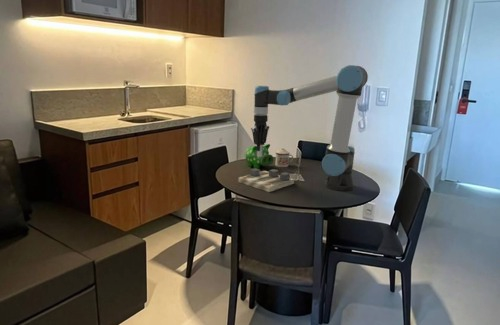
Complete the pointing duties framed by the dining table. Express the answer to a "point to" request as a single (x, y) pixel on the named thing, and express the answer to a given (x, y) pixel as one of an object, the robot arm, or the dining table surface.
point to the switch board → (265, 181)
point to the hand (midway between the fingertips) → (259, 156)
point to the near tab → (284, 176)
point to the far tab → (255, 172)
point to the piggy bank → (258, 161)
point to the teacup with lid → (282, 158)
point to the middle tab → (273, 173)
